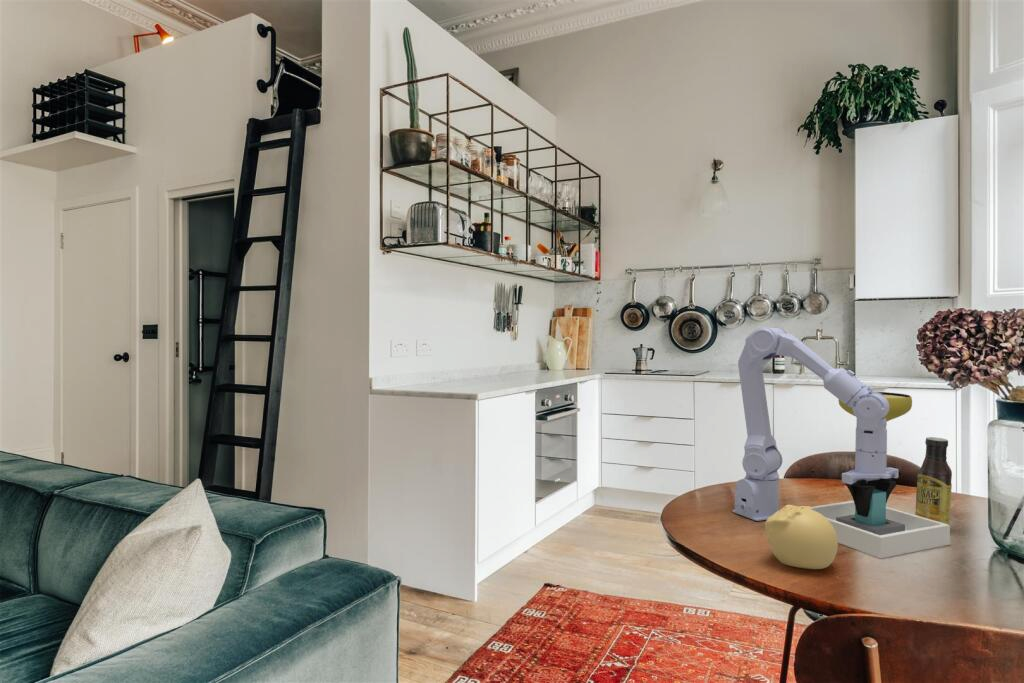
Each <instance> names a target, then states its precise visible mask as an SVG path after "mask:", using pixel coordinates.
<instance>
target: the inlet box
mask: <svg viewBox="0 0 1024 683" xmlns="http://www.w3.org/2000/svg"><path fill="white" fill-rule="evenodd" d="M810 507H811V509H812V510H814V511H816V512H818V513H820V514H822V515H823V516H824V517H826V518H827V519H828V520H829V521H830V523H831V524H832V525H833V527H834V529H835V531H836V534H837V539H838V544H841V545H843V546H845V547H849V548H852V549H854V550H856V551H860V552H863V553H865V554H868V555H871V556H873V557H876V558H878V559H886V558H889V557H896V556H901V555H906V554H911V553H915V552H920V551H926V550H930V549H934V548H939V547H946V546H950V544H951V524H949V525H948V524H945V523H941V522H938V521H934V520H931V519H927V518H924V517H920V516H917V515H915V514H913V513H911V512H905V511H902V510H899V509H896V508H891V507H889V506H886V524H883V525H878V526H870V525H867V524H864V523H861V522H858V521H855V503H854V500H849V501H848V500H847V501H840V502H835V503H834V502H833V503H828V504H823V505H822V504H821V505H815V506H810Z"/></svg>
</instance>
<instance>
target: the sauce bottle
mask: <svg viewBox="0 0 1024 683" xmlns="http://www.w3.org/2000/svg"><path fill="white" fill-rule="evenodd" d="M924 443H925V457H924V459H923V461H922V464H921V466H920V469H919V471H918V473H917V480H916V481H917V482H916V497H915V514H914V515H917V516H920V517H924V518H927V519H931V520H934V521H938V522H941V523H945V524H948V525H950V520H951V519H950V518H951V508H952V507H951V506H952V486H953V484H952V474H953V472H952V469H951V467H950V465H949V463H948V461H947V449H948V446H949V440H948V439H945V438H941V437H935V436H934V437H933V436H928V437H926V438H925V442H924Z"/></svg>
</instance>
